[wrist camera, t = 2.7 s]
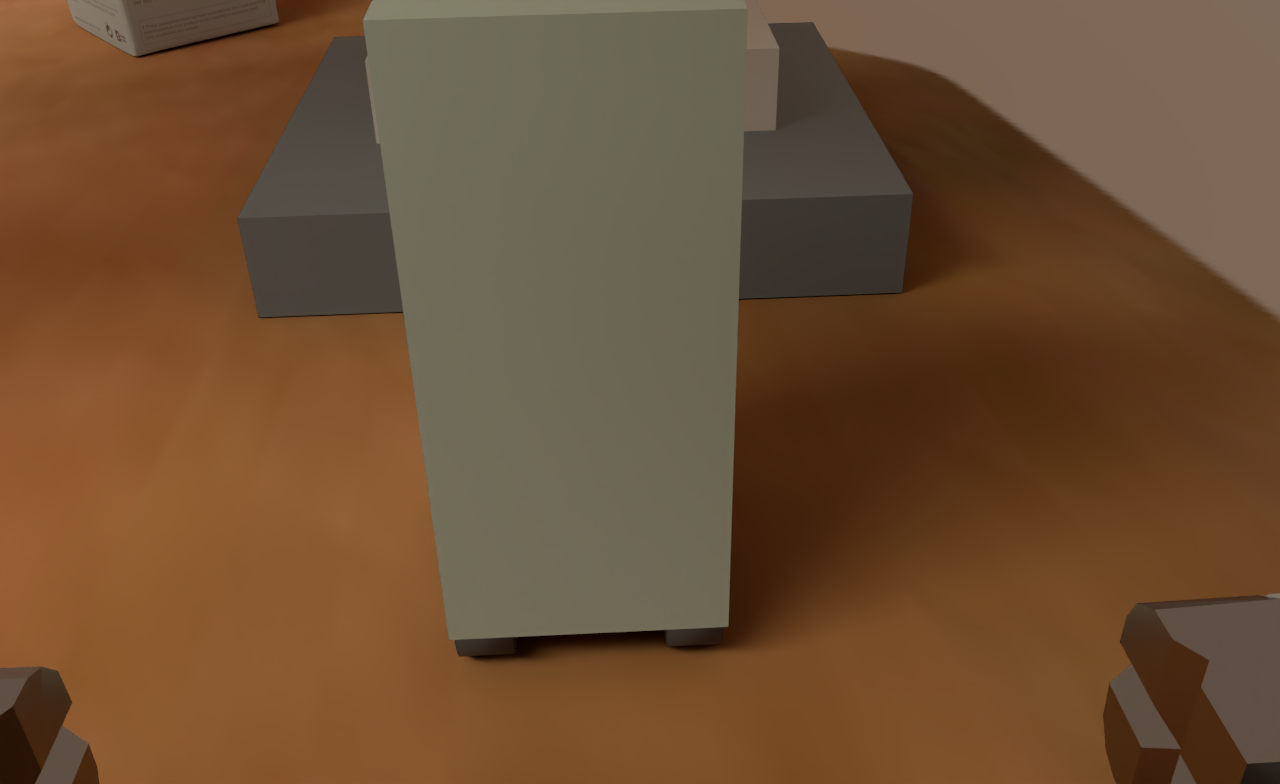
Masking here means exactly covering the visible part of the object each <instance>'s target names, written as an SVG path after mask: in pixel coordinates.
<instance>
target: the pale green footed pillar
mask: <svg viewBox="0 0 1280 784" xmlns="http://www.w3.org/2000/svg"><path fill="white" fill-rule="evenodd" d="M747 21H748V8H747V5H746V3H745V1H744V0H372V2H371V4H370V7H369V9H368V11H367V13H366V15H365V17H364V19H363V26H364V33H365V40H366V48H367V55H368V62H369V69H370V76H371V83H372V91H373V98H374V105H375V112H376V119H377V126H378V134H379V141H380V148H381V155H382V162H383V169H384V177H385V184H386V191H387V198H388V205H389V213H390V220H391V227H392V234H393V241H394V248H395V256H396V263H397V270H398V277H399V284H400V291H401V299H402V306H403V313H404V320H405V327H406V335H407V342H408V349H409V356H410V363H411V370H412V378H413V385H414V392H415V399H416V406H417V413H418V421H419V428H420V435H421V442H422V449H423V456H424V464H425V471H426V478H427V485H428V492H429V500H430V507H431V514H432V521H433V528H434V535H435V543H436V550H437V557H438V564H439V571H440V578H441V586H442V593H443V600H444V607H445V614H446V622H447V629H448V636H449V640H455V645H456V650H457V653H458V655H459V656H481V655H501V654H515V651H516V643H517V637H525V636H546V635H567V634H588V633H609V632H630V631H651V630H664V637H665V644H666V647H669V646H690V645H711V644H721V642H722V634H723V627H728V623H729V592H730V560H731V528H732V496H733V465H734V433H735V401H736V370H737V338H738V306H739V274H740V243H741V211H742V179H743V148H744V116H745V84H746V52H747Z"/></svg>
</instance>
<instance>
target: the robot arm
mask: <svg viewBox="0 0 1280 784" xmlns="http://www.w3.org/2000/svg"><path fill="white" fill-rule="evenodd" d="M1120 643H1121V644H1122V646H1123V648H1124V650H1125V652H1126V654H1127V656H1128V658H1129V660H1130V661H1131V663H1132V664H1131V665H1130V666H1128V667H1127V668H1126V669H1125V670H1124V671H1123V672H1122V673H1121V674H1120V675H1118V676H1117V677H1116V678H1115V679H1114V680H1113V681H1112V682H1111V683H1110V684H1109V688H1108V693H1107V699H1106V704H1105V709H1104V714H1103V719H1104V733H1105V747H1106V752H1107V756H1108V760H1109V763H1110V767H1111V770H1112V774H1113V777H1114V779H1115V782H1116V784H1280V593H1277V594H1268V595H1266V596H1260V595H1254V596H1239V597H1224V598H1209V599H1194V600H1179V601H1164V602H1149V603H1137V604H1136V605H1135V606H1134V608H1133V609H1132V610H1131V612H1130V613H1129V614H1128V615H1127V617H1126V620H1125V624H1124V628H1123V632H1122V635H1121V639H1120ZM71 704H72V701H71V699H70V696H69V694H68V692H67V690H66V688H65V685H64V683H63V681H62V679H61V677H60V674H59V672H58V671H56V670H52V669H49V668H45V667H18V668H0V784H99V777H98V770H97V765H96V762H95V760H94V757H93V754H92V752H91V749H90V746H89V744H88V743H87V742H85V741H84V740H82V739H81V738H79V737H78V736H76V735H75V734H74V733H72V732H71V731H69V730H68V729H66V728H65V727H63V726H62V724H63V722H64V720H65V717H66V715H67V713H68V711H69V708H70V706H71Z"/></svg>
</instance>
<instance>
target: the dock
mask: <svg viewBox="0 0 1280 784" xmlns="http://www.w3.org/2000/svg"><path fill="white" fill-rule="evenodd" d="M744 1H745V3H746V5H747V8H748V21H747V52H746V84H745V116H744V148H743V179H742V211H741V243H740V274H739V299H747V298H773V297H799V296H825V295H851V294H877V293H902V289H903V280H904V272H905V263H906V254H907V245H908V236H909V228H910V219H911V210H912V201H913V193H912V191H911V189H910V187H909V186H908V184H907V182H906V181H905V179H904V177H903V175H902V174H901V172H900V170H899V169H898V167H897V165H896V163H895V162H894V160H893V158H892V157H891V155H890V153H889V152H888V150H887V148H886V146H885V145H884V143H883V141H882V140H881V138H880V136H879V134H878V133H877V131H876V129H875V128H874V126H873V124H872V122H871V121H870V119H869V117H868V116H867V114H866V112H865V111H864V109H863V107H862V105H861V104H860V102H859V100H858V99H857V97H856V95H855V93H854V92H853V90H852V88H851V87H850V85H849V83H848V81H847V80H846V78H845V76H844V75H843V73H842V71H841V70H840V68H839V66H838V64H837V63H836V61H835V59H834V58H833V56H832V54H831V52H830V51H829V49H828V47H827V46H826V44H825V42H824V40H823V39H822V37H821V35H820V34H819V32H818V30H817V29H816V27H815V25H814V23H813V22H808V23H807V22H806V23H776V24H768V23H767V21H766V19H765V17H764V15H763V13H762V11H761V9H760V6H759V4H758V2H757V0H744ZM237 219H238V224H239V228H240V233H241V238H242V242H243V247H244V252H245V256H246V261H247V266H248V270H249V275H250V280H251V284H252V289H253V294H254V298H255V303H256V308H257V312H258V317H280V316H306V315H332V314H358V313H384V312H403V306H402V299H401V291H400V284H399V277H398V270H397V263H396V256H395V248H394V241H393V234H392V227H391V220H390V213H389V205H388V198H387V191H386V184H385V177H384V169H383V162H382V155H381V148H380V141H379V134H378V126H377V119H376V112H375V105H374V98H373V91H372V83H371V76H370V69H369V62H368V55H367V48H366V40H365V36H355V37H334V39H333V41H332V43H331V45H330V46H329V48H328V50H327V52H326V54H325V56H324V58H323V59H322V61H321V63H320V65H319V67H318V69H317V71H316V73H315V74H314V76H313V78H312V80H311V82H310V84H309V86H308V87H307V89H306V91H305V93H304V95H303V97H302V99H301V100H300V102H299V104H298V106H297V108H296V110H295V112H294V114H293V115H292V117H291V119H290V121H289V123H288V125H287V127H286V128H285V130H284V132H283V134H282V136H281V138H280V140H279V141H278V143H277V145H276V147H275V149H274V151H273V153H272V155H271V156H270V158H269V160H268V162H267V164H266V166H265V168H264V169H263V171H262V173H261V175H260V177H259V179H258V181H257V182H256V184H255V186H254V188H253V190H252V192H251V194H250V196H249V197H248V199H247V201H246V203H245V205H244V207H243V209H242V210H241V212H240V214H239V216H238V218H237Z"/></svg>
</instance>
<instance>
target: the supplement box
mask: <svg viewBox="0 0 1280 784" xmlns="http://www.w3.org/2000/svg"><path fill="white" fill-rule="evenodd" d="M67 1H68V5H69V8H70V12H71V15H72V18H73V20H74V22H75V23H76V24H78V25H79V26H80V27H82V28H83V29H85V30H87V31H88V32H90V33H92V34H94V35H96V36H97V37H99V38H101V39H103V40H104V41H106V42H108V43H110V44H112V45H113V46H115V47H117V48H119V49H121V50H123V51H125V52H127V53H128V54H130V55H132V56H141V55H145V54H149V53H152V52H156V51H160V50H164V49H168V48H173V47H177V46H181V45H185V44H190V43H194V42H198V41H203V40H207V39H212V38H216V37H220V36H224V35H228V34H233V33H237V32H241V31H245V30H250V29H254V28H258V27H262V26H267V25H271V24H275V23H278V22H279V17H278V11H277V6H276V0H67Z"/></svg>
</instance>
